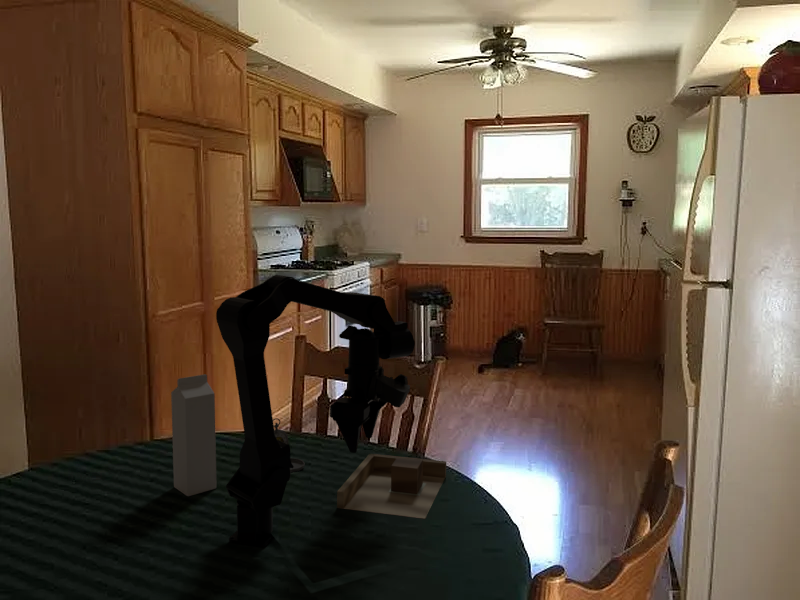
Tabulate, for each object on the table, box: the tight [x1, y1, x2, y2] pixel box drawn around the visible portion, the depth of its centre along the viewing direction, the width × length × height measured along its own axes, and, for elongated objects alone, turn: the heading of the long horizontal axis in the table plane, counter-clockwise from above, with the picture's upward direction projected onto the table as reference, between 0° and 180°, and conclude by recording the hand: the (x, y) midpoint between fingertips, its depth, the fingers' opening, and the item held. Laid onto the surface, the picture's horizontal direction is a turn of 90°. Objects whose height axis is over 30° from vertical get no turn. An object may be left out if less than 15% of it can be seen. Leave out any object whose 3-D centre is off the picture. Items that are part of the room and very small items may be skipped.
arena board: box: [336, 453, 447, 520], centre depth 128 cm, size 20×16×4 cm
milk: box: [170, 373, 217, 497], centre depth 130 cm, size 6×6×22 cm
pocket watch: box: [273, 417, 306, 473], centre depth 142 cm, size 8×8×10 cm
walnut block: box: [391, 456, 424, 494], centre depth 130 cm, size 5×5×5 cm
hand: (361, 444), depth 126 cm, fingers open, 9 cm apart
